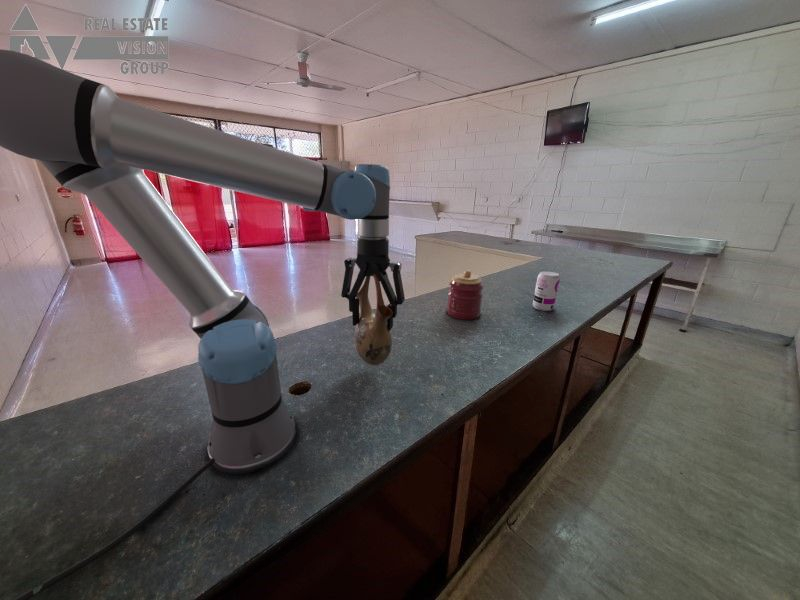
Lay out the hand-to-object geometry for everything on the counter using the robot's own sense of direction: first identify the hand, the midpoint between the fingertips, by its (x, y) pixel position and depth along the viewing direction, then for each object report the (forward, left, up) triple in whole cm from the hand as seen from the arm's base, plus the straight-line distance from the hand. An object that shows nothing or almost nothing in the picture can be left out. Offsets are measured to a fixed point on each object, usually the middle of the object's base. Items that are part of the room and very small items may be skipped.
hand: (372, 325), depth 81 cm
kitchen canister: (+48, -21, -13) cm, 54 cm away
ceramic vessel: (0, 0, -11) cm, 11 cm away
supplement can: (+65, -53, -13) cm, 85 cm away
